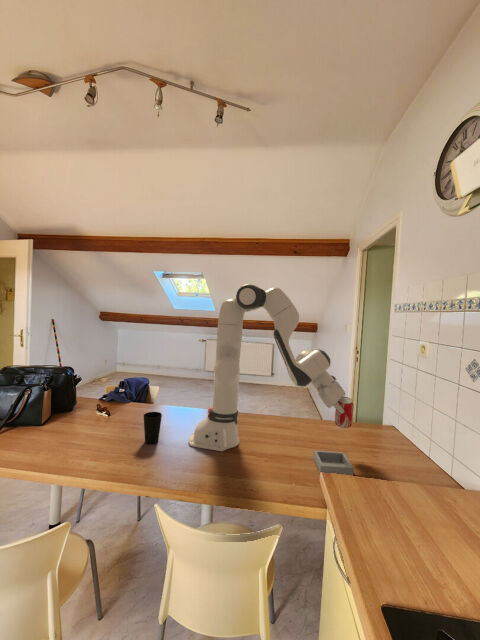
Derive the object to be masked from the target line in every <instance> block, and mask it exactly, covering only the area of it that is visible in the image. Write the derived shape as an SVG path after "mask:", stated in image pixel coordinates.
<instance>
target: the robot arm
mask: <svg viewBox="0 0 480 640" xmlns="http://www.w3.org/2000/svg"><path fill="white" fill-rule="evenodd" d="M235 295H236V296H235V298H228V299H225V300H223V301H222V303H221V305H220V309H219V312H218V313H219V314H218V321H217V329H216V331H217V332H216V348H215V349H216V351H215V353H216V354H215V363H214V366H213V384H212V385H213V394H212V396H213V397H212V406H211V407H209V408H208V410H207V417H206V418H205V419H204V420H201V422H199V423H198V424H197V425H196V427H195V430H194V432H193V433H191V434H190V436H189V438H188V445H189V446H190V447H194V448H198V449H199V448H200V449H206V450H212V451H217V452H218V451H219V452H224V451H226V450H228V449H232V448H235V447H237V446H238V445H239V444H240V438H239V432H238V423H239V410H238V407H239V405H238V402H239V401H238V400H239V386H240V370H241V369H240V358H241V349H242V342H243V341H242V339H243V338H242V337H243V328H244V327H243V325H244V318H245V317H244V316H245V314H246V313H247V312H252V311H256V310H258V309H260V308H262V309H264V310H265V311H266V312H267V314H268V315H269V316H270V318H271V320H272V322H273V325H274V331H273V338H274V341H275V344H276V346H277V349H278V350H279V353H280V356H281V357H282V360H283V363H284V365H285V367H286V370H287V373H288V376H289V378H290V381H291V382H292V383H293V384H294V385H295V387H296V386H297V387H307V386H308V385H310V384H311V385H312V387H313V388H314V390H316V392H317V394H318V396H319V398H320V399H321V401H322V403H323V404H324V405H325V407H327V408H328V409H330V408H332V407H334V409H335V410H336V409H337V410H338V411H339V412H340V413H341V414H342V413H344V412H345V410H344V409H343V407H341V406H340V405H339V403H338V401H339V400H340V399H341V398H342V397H346V392H345V390H344V389H343V387H342V386H341V385H340V383H339V382H338V381H337V378H336V377H335V376H334V375H331V374H330V373H329V372H328V371H327V370H328V369H329V368H330V367H331V358H330V357H329V354H328V353H326V352H325V351H324V350H322V349H315V350H311V351H310V350H309V349H307V350H305V349H304V350H303V351H301V352H300V353H299V354H297V356H296V357H295V356H294V353H293V351H292V349H291V346H290V344H289V343H290V337H291V336H292V334H293V332H294V331H295V330H296V328H297V327H298V324H299V322H300V313H299V311H298V309H297V308H296V306H295V305H294V303H293V301H292V300H291V299H290V298H289V296H288V295H287V294H286V293H285V292H284V291H283V290H282V289H281V288H279V287H270V288H268V289H267V290H265V289H262V288H260V287H258V286H257V285H255V284H251V283H249V284H248V283H246V284H244V285H242V286H240V287H239V288H238V289H237V291H236V294H235Z"/></svg>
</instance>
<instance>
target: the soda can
mask: <svg viewBox="0 0 480 640" xmlns="http://www.w3.org/2000/svg"><path fill="white" fill-rule="evenodd" d="M338 403H339V405H340V406H341V407H343V409H344V410H345V412H344V413H342V414H341V413H340V412H339V411H338V410H337V409H336V408H335V411H334V424H335V425H336V426H338V427H339V428H340V429H348V428H351V427H352V424H353V418H354V417H353V416H354V406H355V405H354V403H353V399H352V398H350V397H348V396H344V397H342V398H341V399H340V400H339V401H338Z"/></svg>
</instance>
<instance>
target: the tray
mask: <svg viewBox="0 0 480 640" xmlns="http://www.w3.org/2000/svg"><path fill="white" fill-rule="evenodd" d="M313 461H314V463H315V466H316V468H317V471H318V474H319V473H320V472H324V473H337V474H346V475H353V476H354V471H355V470H354V469H355V468H354V466H353V464H352V463H351V461H350V460H349V458H348V457H347V455H346V454H345V451H344V452H342V451H341V452H340V451H330V450H329V451H328V450H317V449H316V450H313Z"/></svg>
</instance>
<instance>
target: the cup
mask: <svg viewBox="0 0 480 640" xmlns="http://www.w3.org/2000/svg"><path fill="white" fill-rule="evenodd" d="M162 416H163V414H162V413H161V412H159V411H150V412H146V413H144V414H143V424H144V425H143V431H144V444H146V445H147V446H148V445H149V446H150V445H151V446H152V445H153V446H154V445H157V444H158V443H159V440H160V439H159V438H160V432H161V431H160V430H161V423H162V418H163V417H162Z"/></svg>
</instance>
